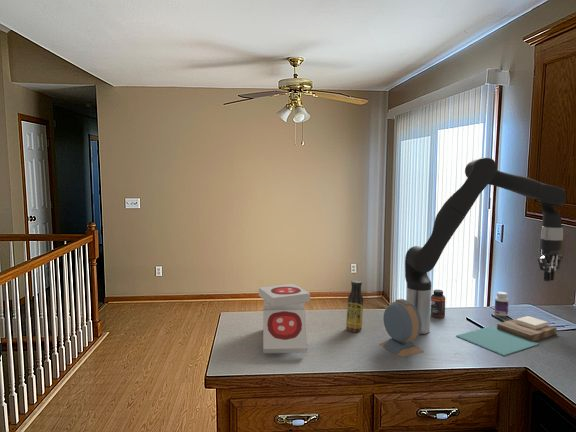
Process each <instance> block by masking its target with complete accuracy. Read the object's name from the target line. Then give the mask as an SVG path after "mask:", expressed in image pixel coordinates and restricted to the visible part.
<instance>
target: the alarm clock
mask: <svg viewBox="0 0 576 432" xmlns="http://www.w3.org/2000/svg"><path fill="white" fill-rule="evenodd" d="M385 308H386V309H384V312H383V326H384V329H385V331H386V332H387V334H388V335H389V336H390V338H389V339H388V340H386V341H383V342H380V343H379V345H380V346H381V345H382V347H383V348H385V349H387V350H388V349H389V351H390V350H391V351H390V352H391V353H394V354H395V353H396V355H397V356H399V357H401V358H405V357H409V356H412V355H413V354H414V355H418V354H422V353H424V352H425V351H424V350H423V349H421V348H420V347H419V346H417V345H415V344H414V343H412V341H414V340H415V339H416V338H417V337H418V336H419V335H420V334H419V333H420V331H421V326H422V322H421V317H420V314H419V312H418V310H417V309H416V308H415V307H414V306H413V305H412V304H410V303H409V302H408V301H406V299H403V298H398V299H395V300H394V301H393V302H392V303H390V304H389V305H388V306H387V307H385ZM421 352H422V353H421Z"/></svg>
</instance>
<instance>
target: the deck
mask: <svg viewBox="0 0 576 432" xmlns="http://www.w3.org/2000/svg"><path fill="white" fill-rule="evenodd" d="M522 317H523V316H521V317H520V318H522ZM518 318H519V317H517V318H514V319H509V320H506V321H502V322H499V323H497V326H496V329H499V330H502V331H505V332H508V333H510V334H513V335H516V336H519V337H522V338H524V339H527V340H530V341H533V342H536V341H538V340H541V339H545V338H548V337H552V336H555V335H556V334H557V327H555V326H552V325H549V324H547V326H545V327H542V328H538V329H532V328H529V327H526V326H523V325H520V324H517V323H515V322H516V319H518Z"/></svg>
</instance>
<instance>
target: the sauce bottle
mask: <svg viewBox="0 0 576 432" xmlns="http://www.w3.org/2000/svg"><path fill="white" fill-rule="evenodd" d="M362 284H363V282H362V280H356V279H354V280H353V279H352V280H351V291H350V293H349V294H348V297H347V306H346V319H345V320H346V325H345V326H346V327H345V328H346V329H345V330H347V331H348V332H351V333H359V332H361V331H362V327H363V319H364V318H363V315H364V313H363V311H364V298H363V295H362Z"/></svg>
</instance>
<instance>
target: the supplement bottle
mask: <svg viewBox="0 0 576 432" xmlns="http://www.w3.org/2000/svg"><path fill="white" fill-rule="evenodd" d="M432 293H433V294H431V307H430V317H431V316H432V317H433V318H437V319H440V318H441V319H442V318H444V317H446V296H445V295H444V290H442V289H433V292H432Z"/></svg>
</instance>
